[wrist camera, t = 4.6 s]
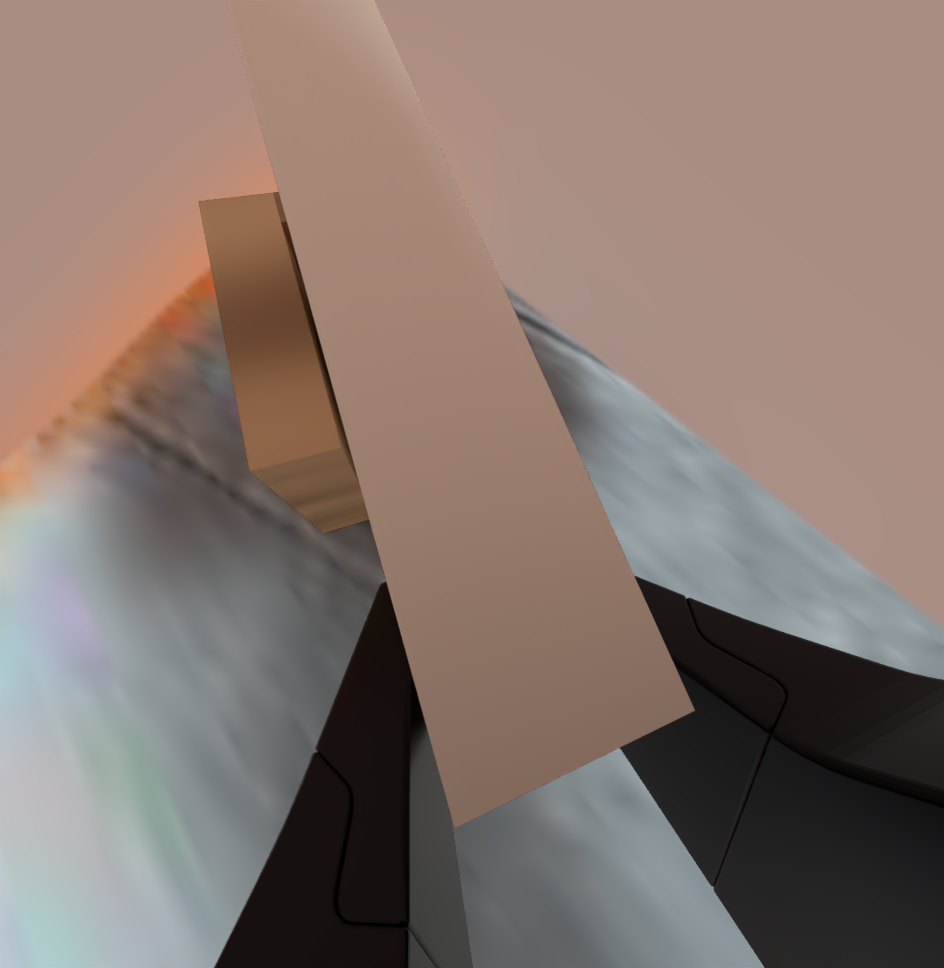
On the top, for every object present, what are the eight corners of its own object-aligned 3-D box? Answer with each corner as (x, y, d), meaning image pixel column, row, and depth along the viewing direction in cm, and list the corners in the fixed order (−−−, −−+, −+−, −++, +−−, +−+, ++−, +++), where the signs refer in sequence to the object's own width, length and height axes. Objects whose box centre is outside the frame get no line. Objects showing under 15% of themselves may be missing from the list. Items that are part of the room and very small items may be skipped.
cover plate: (494, 638, 14) (693, 711, 4) (431, 662, 14) (454, 829, 3) (402, 365, 17) (369, -11, 7) (348, 377, 17) (222, -11, 6)
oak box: (503, 479, 16) (550, 394, 10) (323, 533, 15) (249, 471, 8) (441, 320, 18) (448, 172, 12) (280, 351, 17) (198, 201, 11)
